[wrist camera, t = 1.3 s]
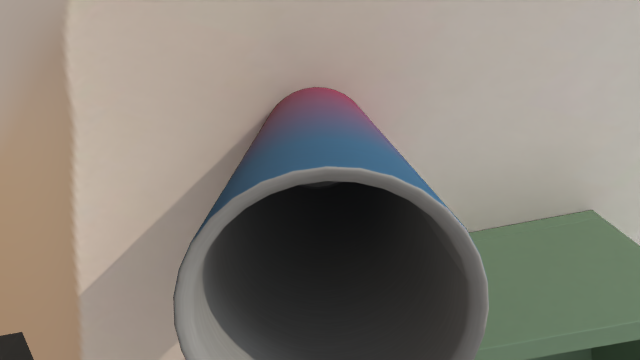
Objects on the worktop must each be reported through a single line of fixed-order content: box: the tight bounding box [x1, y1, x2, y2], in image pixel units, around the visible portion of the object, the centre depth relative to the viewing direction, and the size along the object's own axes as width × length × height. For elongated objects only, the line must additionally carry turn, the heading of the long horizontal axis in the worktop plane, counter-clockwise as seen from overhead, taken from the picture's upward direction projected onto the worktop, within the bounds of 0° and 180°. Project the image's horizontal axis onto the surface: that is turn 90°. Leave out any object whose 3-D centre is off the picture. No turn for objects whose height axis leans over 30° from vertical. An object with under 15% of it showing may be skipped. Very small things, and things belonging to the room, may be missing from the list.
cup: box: [173, 87, 489, 360], centre depth 19 cm, size 7×7×15 cm
